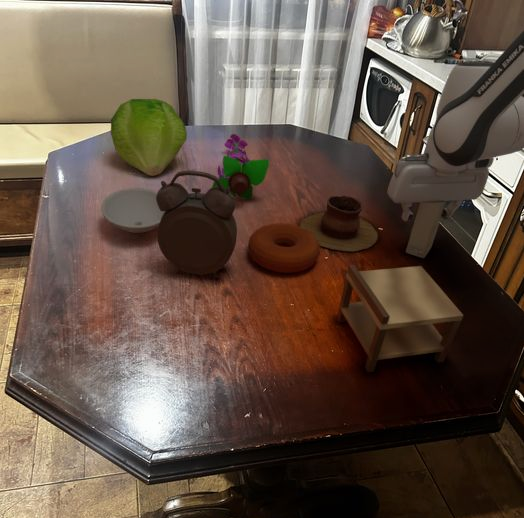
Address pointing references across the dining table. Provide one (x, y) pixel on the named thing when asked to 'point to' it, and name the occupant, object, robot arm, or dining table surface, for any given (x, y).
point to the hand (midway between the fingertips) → (426, 218)
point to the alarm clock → (196, 225)
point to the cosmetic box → (425, 228)
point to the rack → (398, 313)
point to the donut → (283, 248)
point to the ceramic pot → (341, 225)
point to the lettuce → (147, 134)
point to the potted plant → (232, 172)
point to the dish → (133, 209)
